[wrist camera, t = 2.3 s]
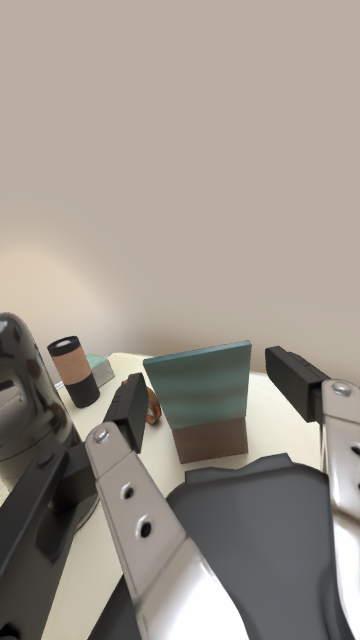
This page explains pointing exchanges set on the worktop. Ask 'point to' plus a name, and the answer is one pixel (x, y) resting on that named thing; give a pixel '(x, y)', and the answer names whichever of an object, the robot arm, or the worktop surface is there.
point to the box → (100, 369)
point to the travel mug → (74, 371)
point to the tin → (151, 406)
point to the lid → (202, 383)
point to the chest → (211, 440)
